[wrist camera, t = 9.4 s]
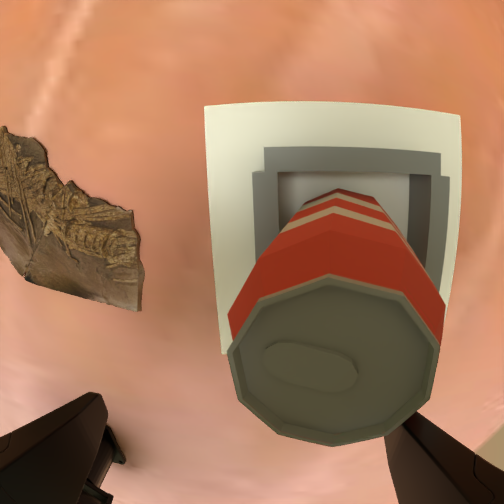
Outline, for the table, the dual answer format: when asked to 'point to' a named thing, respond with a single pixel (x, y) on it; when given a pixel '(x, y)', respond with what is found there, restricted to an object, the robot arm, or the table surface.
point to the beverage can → (336, 325)
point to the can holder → (328, 179)
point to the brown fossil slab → (65, 231)
